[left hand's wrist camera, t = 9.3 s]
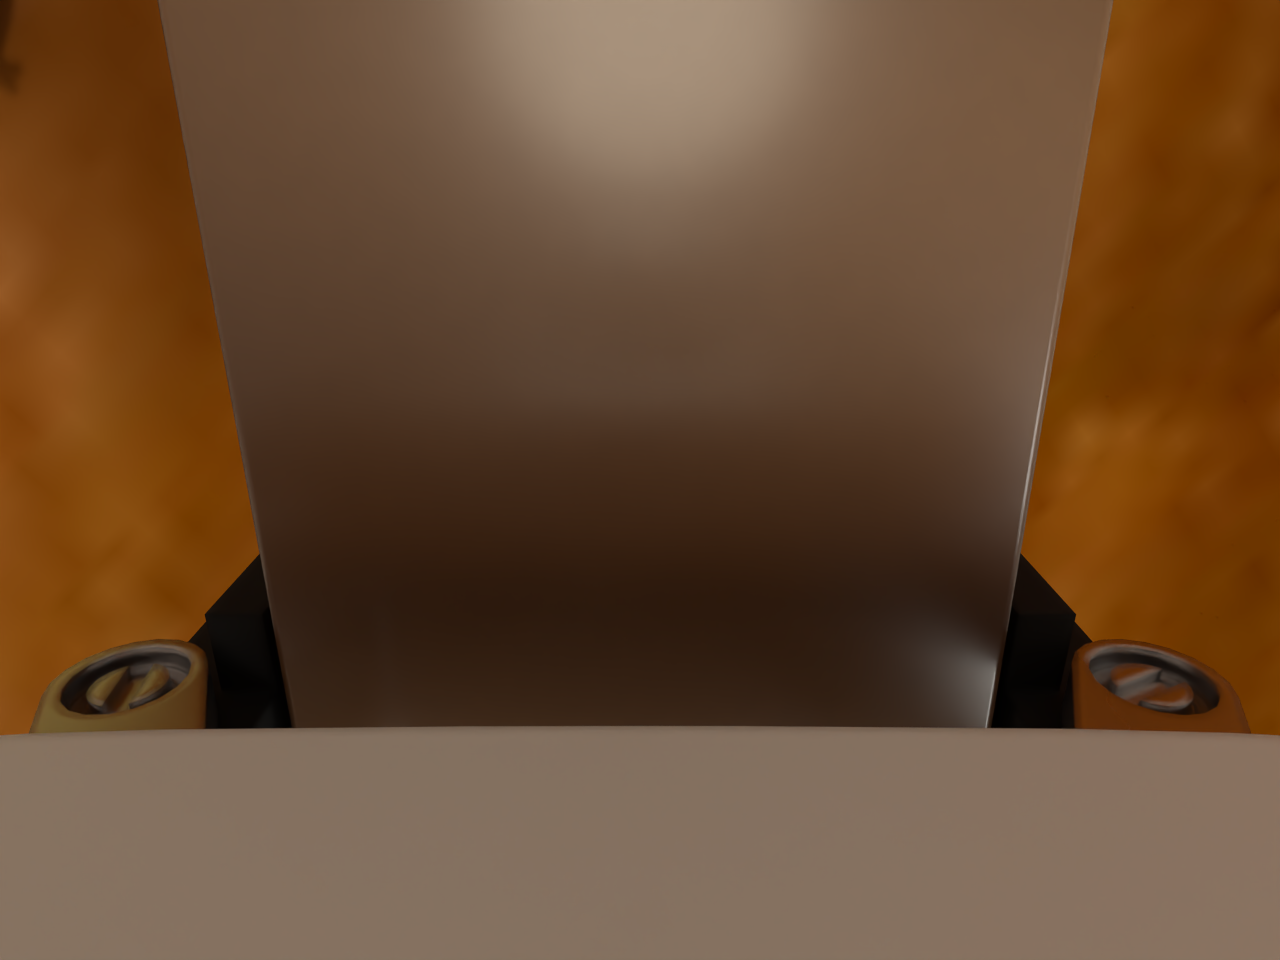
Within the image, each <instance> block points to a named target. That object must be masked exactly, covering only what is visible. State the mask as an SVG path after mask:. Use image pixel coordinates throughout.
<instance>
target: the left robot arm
mask: <svg viewBox="0 0 1280 960" xmlns="http://www.w3.org/2000/svg"><path fill="white" fill-rule="evenodd" d="M1075 617H1076V614H1075V613H1074V612H1073V611H1072V609H1071V608H1070V607H1069V606H1068V605H1067V604H1066V603H1065V602H1064V601H1063V600H1062V598H1061V597H1060V596H1059V595H1058V594H1057V593H1056V592H1055V591H1054V590H1053V589H1052V587H1051V586H1050V585H1049V584H1048V583H1047V582H1046V581H1045V580H1044V579H1043V577H1042V576H1041V575H1040V574H1039V573H1038V572H1037V571H1036V570H1035V569H1034V568H1033V566H1032V565H1031V564H1030V563H1029V562H1028V561H1027V560H1026V559H1025V558H1024V557H1023V555H1022V554H1021V553H1020V558H1019V564H1018V570H1017V576H1016V582H1015V588H1014V594H1013V600H1012V606H1011V612H1010V618H1009V624H1008V630H1007V636H1006V642H1005V648H1004V653H1003V659H1002V665H1001V671H1000V677H999V683H998V689H997V695H996V701H995V707H994V713H993V719H992V725H991V728H909V727H789V726H455V727H360V728H292V726H291V720H290V715H289V709H288V704H287V699H286V693H285V688H284V682H283V677H282V672H281V666H280V661H279V655H278V650H277V644H276V639H275V634H274V628H273V623H272V617H271V612H270V607H269V601H268V596H267V590H266V585H265V579H264V574H263V569H262V563H261V558H260V554H259V555H258V556H257V557H256V558H255V560H254V561H253V562H252V563H251V564H250V565H249V566H248V567H247V568H246V570H245V571H244V572H243V573H242V574H241V575H240V576H239V577H238V578H237V579H236V581H235V582H234V583H233V584H232V585H231V586H230V587H229V588H228V589H227V590H226V592H225V593H224V594H223V595H222V596H221V597H220V598H219V599H218V600H217V601H216V603H215V604H214V605H213V606H212V607H211V608H210V609H209V610H208V611H207V613H206V614H205V618H206V622H205V624H204V625H203V626H202V627H201V628H200V629H199V630H198V631H197V632H196V634H195V635H194V636H193V637H192V638H191V639H190V640H189V641H188V642H185V641H181V640H168V639H156V640H148V641H140V642H133V643H130V644H126V645H122V646H118V647H114V648H110V649H108V650H105V651H103V652H100V653H98V654H95V655H93V656H90V657H88V658H86V659H84V660H82V661H80V662H79V663H77V664H75V665H73V666H72V667H70V668H68V669H66V670H65V671H64V672H63V673H61V674H60V675H59V676H58V677H57V678H56V679H54V680H53V681H52V682H51V683H50V684H49V686H48V687H47V689H46V690H45V692H44V694H43V695H42V697H41V700H40V702H39V705H38V708H37V711H36V714H35V717H34V720H33V723H32V726H31V729H30V731H29V734H16V735H2V736H0V960H1280V736H1277V735H1260V734H1251V731H1250V729H1249V726H1248V723H1247V720H1246V717H1245V714H1244V711H1243V708H1242V705H1241V702H1240V700H1239V697H1238V695H1237V694H1236V692H1235V690H1234V689H1233V687H1232V686H1231V684H1230V683H1229V682H1228V681H1227V680H1226V679H1224V678H1223V677H1222V676H1221V675H1220V674H1219V673H1217V672H1216V671H1215V670H1214V669H1212V668H1210V667H1208V666H1207V665H1205V664H1203V663H1201V662H1200V661H1198V660H1196V659H1194V658H1192V657H1190V656H1187V655H1185V654H1182V653H1180V652H1177V651H1175V650H1172V649H1170V648H1166V647H1162V646H1158V645H1154V644H1150V643H1147V642H1140V641H1132V640H1124V639H1112V640H1099V641H1095V642H1092V641H1091V640H1090V638H1089V637H1088V636H1087V635H1086V634H1085V633H1084V632H1083V631H1082V629H1081V628H1080V627H1079V626H1078V625H1077V624H1076V623H1075V622H1074V621H1075Z"/></svg>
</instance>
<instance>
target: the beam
mask: <svg viewBox="0 0 1280 960" xmlns="http://www.w3.org/2000/svg"><path fill="white" fill-rule="evenodd" d="M1112 4H1113V0H158V6H159V11H160V16H161V22H162V27H163V33H164V38H165V43H166V49H167V54H168V60H169V65H170V71H171V76H172V81H173V87H174V92H175V98H176V103H177V108H178V114H179V119H180V125H181V130H182V136H183V141H184V146H185V152H186V157H187V163H188V168H189V173H190V179H191V184H192V190H193V195H194V200H195V206H196V211H197V217H198V222H199V228H200V233H201V238H202V244H203V249H204V255H205V260H206V265H207V271H208V276H209V282H210V287H211V293H212V298H213V303H214V309H215V314H216V320H217V325H218V330H219V336H220V341H221V347H222V352H223V358H224V363H225V368H226V374H227V379H228V385H229V390H230V395H231V401H232V406H233V412H234V417H235V422H236V428H237V433H238V439H239V444H240V450H241V455H242V460H243V466H244V471H245V477H246V482H247V487H248V493H249V498H250V504H251V509H252V515H253V520H254V525H255V531H256V536H257V542H258V547H259V552H260V558H261V563H262V569H263V574H264V579H265V585H266V590H267V596H268V601H269V607H270V612H271V617H272V623H273V628H274V634H275V639H276V644H277V650H278V655H279V661H280V666H281V672H282V677H283V682H284V688H285V693H286V699H287V704H288V709H289V715H290V720H291V726H292V728H360V727H455V726H789V727H909V728H991V725H992V719H993V713H994V707H995V701H996V695H997V689H998V683H999V677H1000V671H1001V665H1002V659H1003V653H1004V648H1005V642H1006V636H1007V630H1008V624H1009V618H1010V612H1011V606H1012V600H1013V594H1014V588H1015V582H1016V576H1017V570H1018V564H1019V558H1020V552H1021V546H1022V540H1023V534H1024V528H1025V522H1026V517H1027V511H1028V505H1029V499H1030V493H1031V487H1032V481H1033V475H1034V469H1035V463H1036V457H1037V451H1038V445H1039V439H1040V433H1041V427H1042V421H1043V415H1044V409H1045V403H1046V397H1047V391H1048V385H1049V380H1050V374H1051V368H1052V362H1053V356H1054V350H1055V344H1056V338H1057V332H1058V326H1059V320H1060V314H1061V308H1062V302H1063V296H1064V290H1065V284H1066V278H1067V272H1068V266H1069V260H1070V254H1071V249H1072V243H1073V237H1074V231H1075V225H1076V219H1077V213H1078V207H1079V201H1080V195H1081V189H1082V183H1083V177H1084V171H1085V165H1086V159H1087V153H1088V147H1089V141H1090V135H1091V129H1092V123H1093V117H1094V112H1095V106H1096V100H1097V94H1098V88H1099V82H1100V76H1101V70H1102V64H1103V58H1104V52H1105V46H1106V40H1107V34H1108V28H1109V22H1110V16H1111V10H1112Z"/></svg>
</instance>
